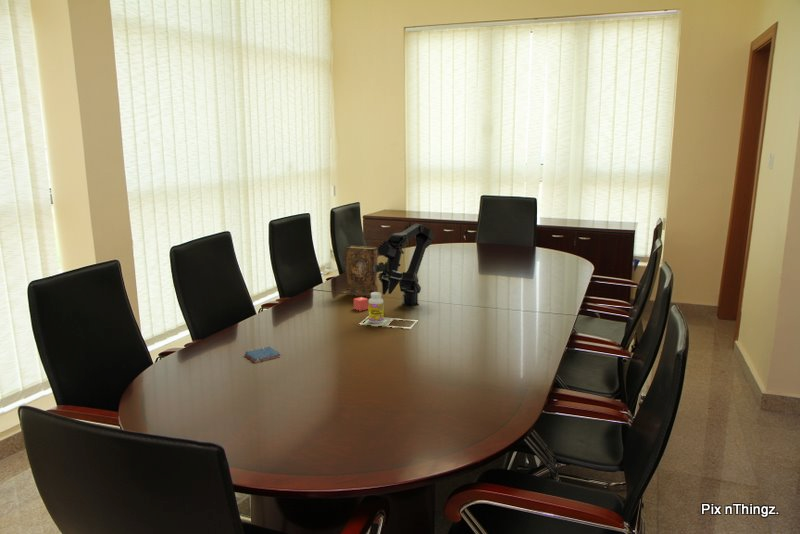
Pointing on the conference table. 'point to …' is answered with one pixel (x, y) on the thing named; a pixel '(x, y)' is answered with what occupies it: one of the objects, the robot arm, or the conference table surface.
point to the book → (361, 270)
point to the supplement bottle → (376, 308)
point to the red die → (361, 303)
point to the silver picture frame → (387, 323)
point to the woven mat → (262, 354)
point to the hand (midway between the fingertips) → (386, 294)
